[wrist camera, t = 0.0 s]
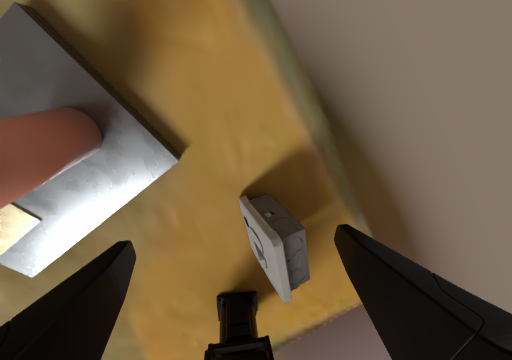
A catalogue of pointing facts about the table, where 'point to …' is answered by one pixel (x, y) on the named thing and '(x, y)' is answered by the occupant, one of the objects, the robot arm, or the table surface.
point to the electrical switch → (276, 243)
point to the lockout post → (42, 148)
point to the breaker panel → (85, 172)
